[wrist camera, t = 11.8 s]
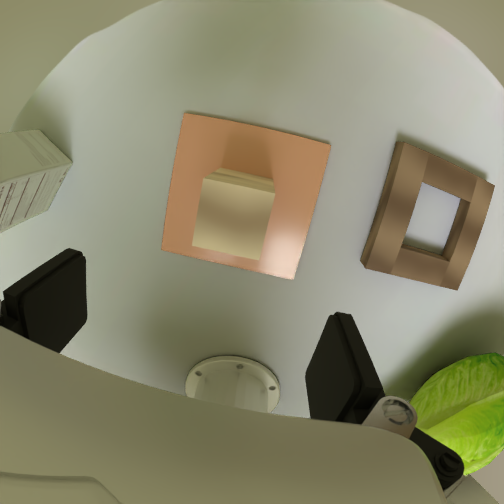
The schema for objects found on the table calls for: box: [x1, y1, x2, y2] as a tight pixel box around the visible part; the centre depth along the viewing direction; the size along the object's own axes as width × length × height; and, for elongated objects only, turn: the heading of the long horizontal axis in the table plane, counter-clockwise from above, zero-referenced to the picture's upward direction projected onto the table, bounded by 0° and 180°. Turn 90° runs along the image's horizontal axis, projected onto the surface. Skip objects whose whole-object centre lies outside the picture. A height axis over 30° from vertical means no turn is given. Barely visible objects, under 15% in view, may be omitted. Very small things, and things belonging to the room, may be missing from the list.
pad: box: [161, 113, 331, 280], centre depth 29 cm, size 14×14×1 cm
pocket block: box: [360, 142, 495, 290], centre depth 28 cm, size 13×13×2 cm
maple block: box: [192, 168, 275, 260], centre depth 25 cm, size 5×5×8 cm
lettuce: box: [409, 353, 504, 475], centre depth 30 cm, size 19×25×17 cm
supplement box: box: [0, 129, 72, 233], centre depth 23 cm, size 7×7×13 cm
